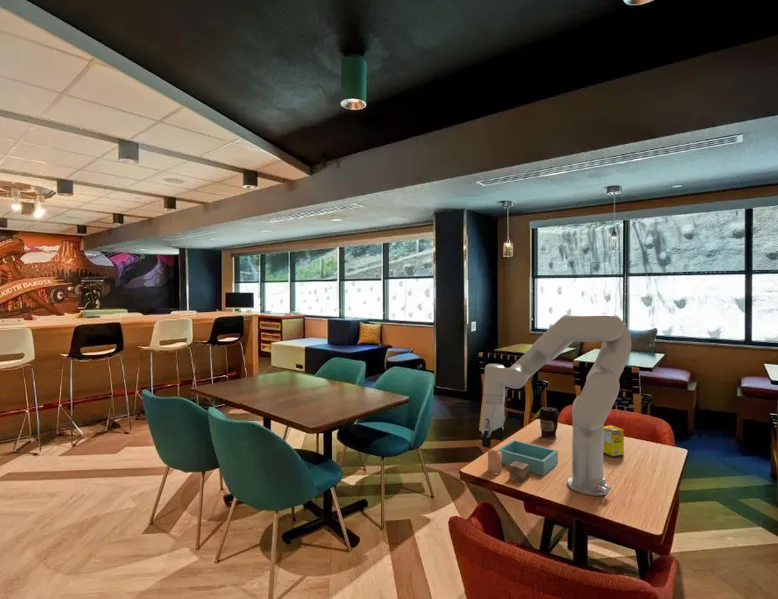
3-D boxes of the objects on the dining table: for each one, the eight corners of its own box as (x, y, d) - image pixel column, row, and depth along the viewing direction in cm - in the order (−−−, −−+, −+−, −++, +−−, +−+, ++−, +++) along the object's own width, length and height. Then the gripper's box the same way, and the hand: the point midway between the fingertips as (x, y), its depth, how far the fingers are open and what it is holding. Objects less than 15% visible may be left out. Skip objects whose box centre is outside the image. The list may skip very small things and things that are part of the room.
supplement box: (624, 456, 170) (624, 429, 170) (612, 458, 168) (612, 431, 168) (611, 450, 176) (612, 424, 175) (600, 452, 174) (600, 426, 174)
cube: (528, 478, 151) (528, 464, 151) (522, 483, 147) (522, 469, 147) (515, 474, 154) (515, 460, 154) (509, 479, 150) (509, 465, 150)
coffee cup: (554, 441, 186) (554, 412, 186) (535, 437, 192) (536, 409, 192) (561, 436, 193) (561, 408, 193) (543, 432, 198) (543, 405, 198)
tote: (557, 463, 163) (557, 450, 163) (543, 475, 153) (543, 461, 153) (513, 451, 175) (513, 439, 175) (497, 462, 165) (497, 449, 164)
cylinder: (504, 472, 155) (504, 454, 155) (492, 474, 154) (492, 455, 153) (496, 467, 160) (496, 449, 160) (485, 469, 158) (485, 450, 158)
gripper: (495, 391, 165) (494, 435, 166) (473, 400, 152) (471, 447, 153) (514, 395, 160) (512, 440, 161) (492, 404, 147) (490, 453, 148)
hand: (492, 443), depth 157 cm, fingers open, 9 cm apart
